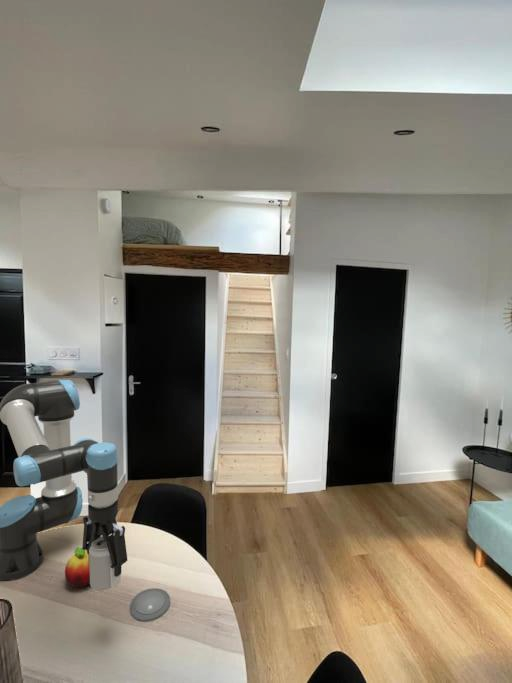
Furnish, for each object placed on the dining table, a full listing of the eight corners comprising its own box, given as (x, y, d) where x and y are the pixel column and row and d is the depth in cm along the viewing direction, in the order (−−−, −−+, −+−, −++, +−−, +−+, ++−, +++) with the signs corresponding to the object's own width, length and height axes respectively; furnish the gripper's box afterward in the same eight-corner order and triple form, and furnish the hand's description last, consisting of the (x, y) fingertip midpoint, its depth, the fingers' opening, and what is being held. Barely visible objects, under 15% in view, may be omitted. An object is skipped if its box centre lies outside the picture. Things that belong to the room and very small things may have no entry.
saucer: (121, 611, 114) (121, 608, 114) (149, 585, 125) (149, 582, 125) (151, 627, 109) (151, 624, 109) (177, 599, 119) (177, 596, 119)
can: (110, 568, 109) (109, 530, 108) (124, 581, 105) (123, 540, 103) (84, 583, 104) (83, 542, 102) (98, 597, 99) (97, 554, 98)
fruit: (69, 598, 119) (68, 568, 118) (61, 578, 127) (60, 550, 126) (104, 582, 126) (104, 554, 125) (94, 565, 134) (94, 538, 133)
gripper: (65, 498, 103) (68, 575, 106) (119, 519, 94) (120, 603, 96) (89, 486, 110) (91, 559, 112) (141, 504, 100) (142, 584, 103)
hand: (105, 579), depth 104 cm, fingers closed on can, 7 cm apart
